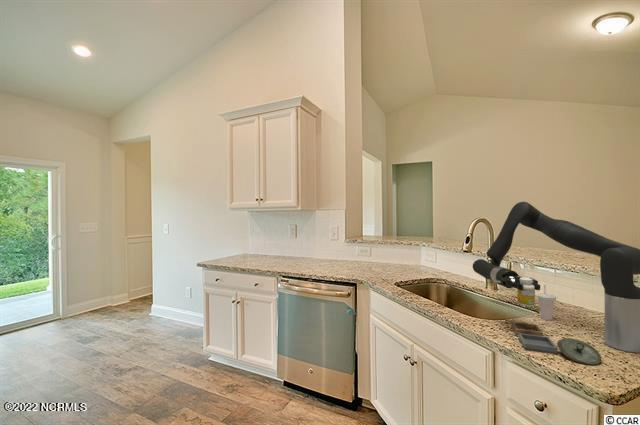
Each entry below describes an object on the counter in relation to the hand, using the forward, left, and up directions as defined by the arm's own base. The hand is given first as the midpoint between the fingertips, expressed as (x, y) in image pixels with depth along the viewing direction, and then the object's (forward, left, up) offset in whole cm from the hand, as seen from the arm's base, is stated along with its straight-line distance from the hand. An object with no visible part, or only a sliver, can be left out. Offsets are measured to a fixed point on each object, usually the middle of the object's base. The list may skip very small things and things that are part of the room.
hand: (530, 287), depth 109 cm
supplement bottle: (+1, -2, -7) cm, 8 cm away
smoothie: (-10, -22, -18) cm, 30 cm away
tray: (0, +10, -17) cm, 20 cm away
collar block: (+1, -2, -17) cm, 18 cm away
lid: (-9, +14, -18) cm, 24 cm away
